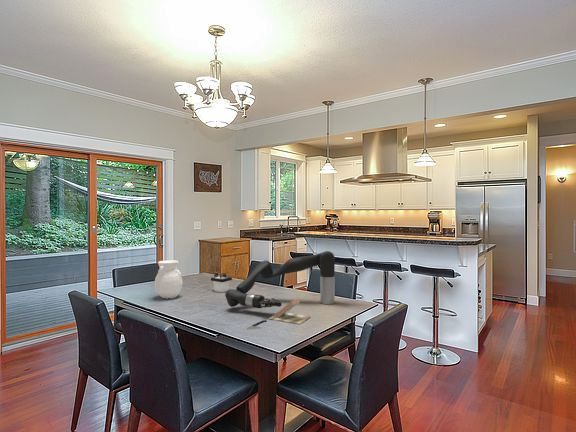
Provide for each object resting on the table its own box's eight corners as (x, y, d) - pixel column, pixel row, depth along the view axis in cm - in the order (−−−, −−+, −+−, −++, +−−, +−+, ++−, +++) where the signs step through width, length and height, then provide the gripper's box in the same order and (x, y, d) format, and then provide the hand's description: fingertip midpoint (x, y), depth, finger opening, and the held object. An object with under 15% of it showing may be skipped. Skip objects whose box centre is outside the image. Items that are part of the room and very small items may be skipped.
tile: (275, 314, 197) (291, 301, 192) (282, 310, 204) (297, 298, 199) (277, 318, 197) (293, 305, 192) (284, 314, 204) (300, 302, 199)
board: (268, 319, 196) (268, 318, 196) (280, 312, 208) (280, 311, 208) (299, 324, 187) (299, 323, 187) (310, 317, 199) (310, 316, 199)
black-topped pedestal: (246, 290, 270) (246, 272, 270) (222, 297, 248) (222, 278, 248) (220, 285, 285) (219, 269, 285) (195, 292, 263) (194, 274, 263)
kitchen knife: (277, 323, 189) (263, 320, 195) (277, 322, 189) (263, 319, 195) (241, 340, 165) (225, 336, 171) (241, 339, 165) (225, 335, 171)
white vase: (166, 293, 259) (166, 259, 258) (188, 295, 253) (187, 260, 252) (148, 299, 241) (148, 262, 241) (171, 301, 235) (170, 263, 235)
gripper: (248, 297, 202) (274, 300, 194) (260, 292, 214) (286, 295, 206) (248, 310, 202) (275, 314, 194) (261, 304, 214) (286, 308, 206)
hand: (280, 304), depth 200 cm, fingers closed
